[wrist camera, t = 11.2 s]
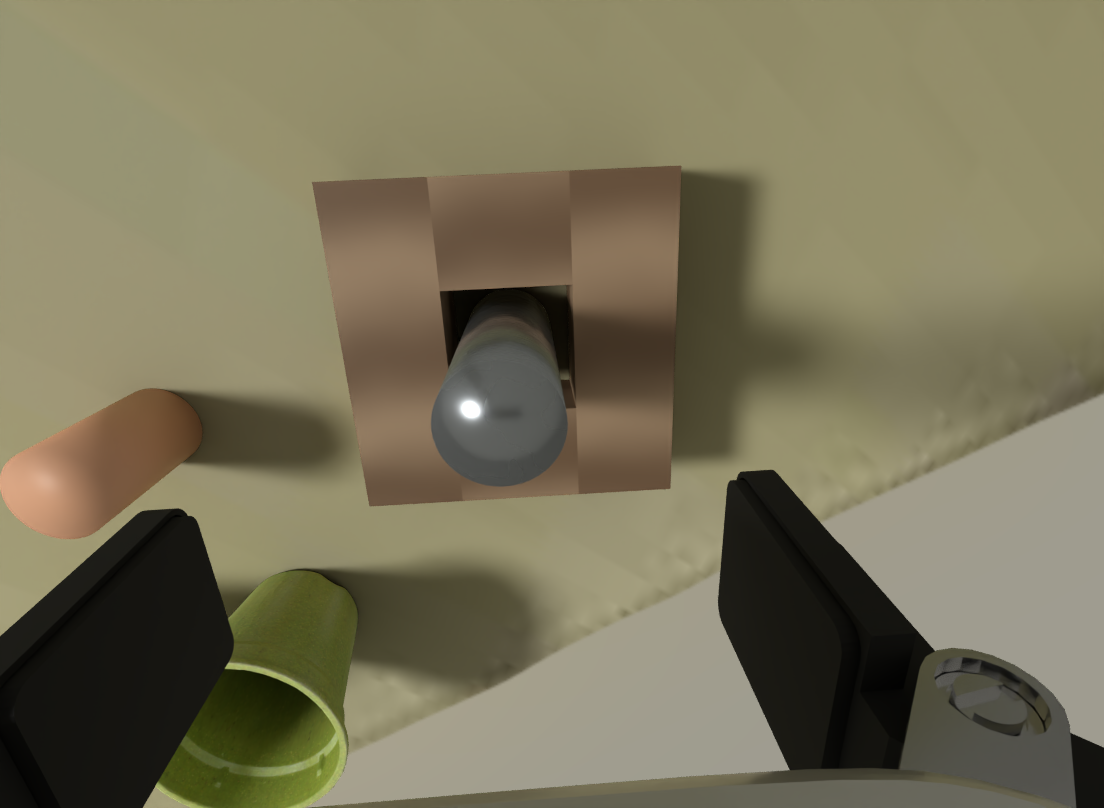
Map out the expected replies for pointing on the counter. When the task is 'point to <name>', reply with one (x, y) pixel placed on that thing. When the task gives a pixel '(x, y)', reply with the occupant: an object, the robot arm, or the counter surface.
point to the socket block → (505, 262)
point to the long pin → (502, 394)
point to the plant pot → (273, 702)
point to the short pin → (100, 464)
